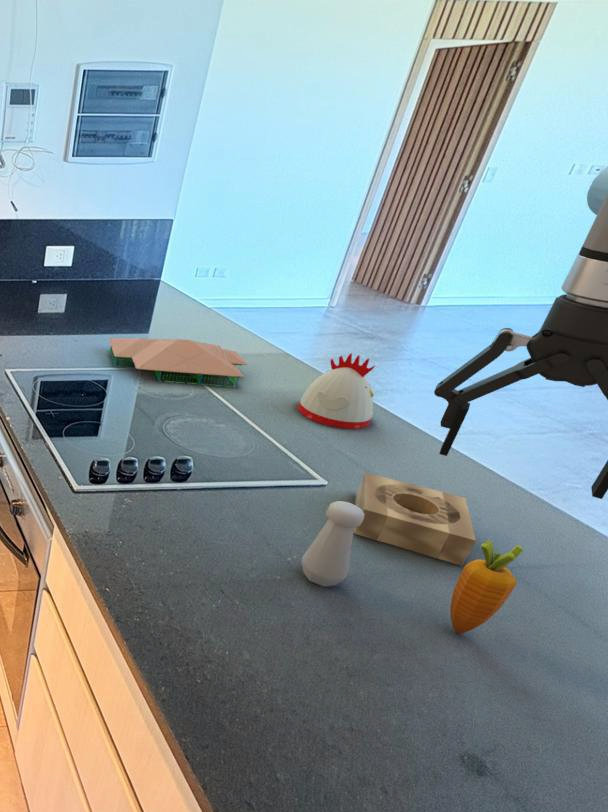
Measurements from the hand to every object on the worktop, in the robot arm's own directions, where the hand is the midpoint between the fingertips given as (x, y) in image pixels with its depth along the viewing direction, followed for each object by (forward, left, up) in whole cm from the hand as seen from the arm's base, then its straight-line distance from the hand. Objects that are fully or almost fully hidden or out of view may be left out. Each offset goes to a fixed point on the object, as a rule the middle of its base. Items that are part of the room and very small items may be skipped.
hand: (515, 471), depth 74 cm
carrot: (-2, +1, -25) cm, 25 cm away
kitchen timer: (+15, -68, -25) cm, 74 cm away
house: (+52, -77, -25) cm, 96 cm away
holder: (+3, -24, -24) cm, 34 cm away
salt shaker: (+14, -1, -25) cm, 28 cm away
